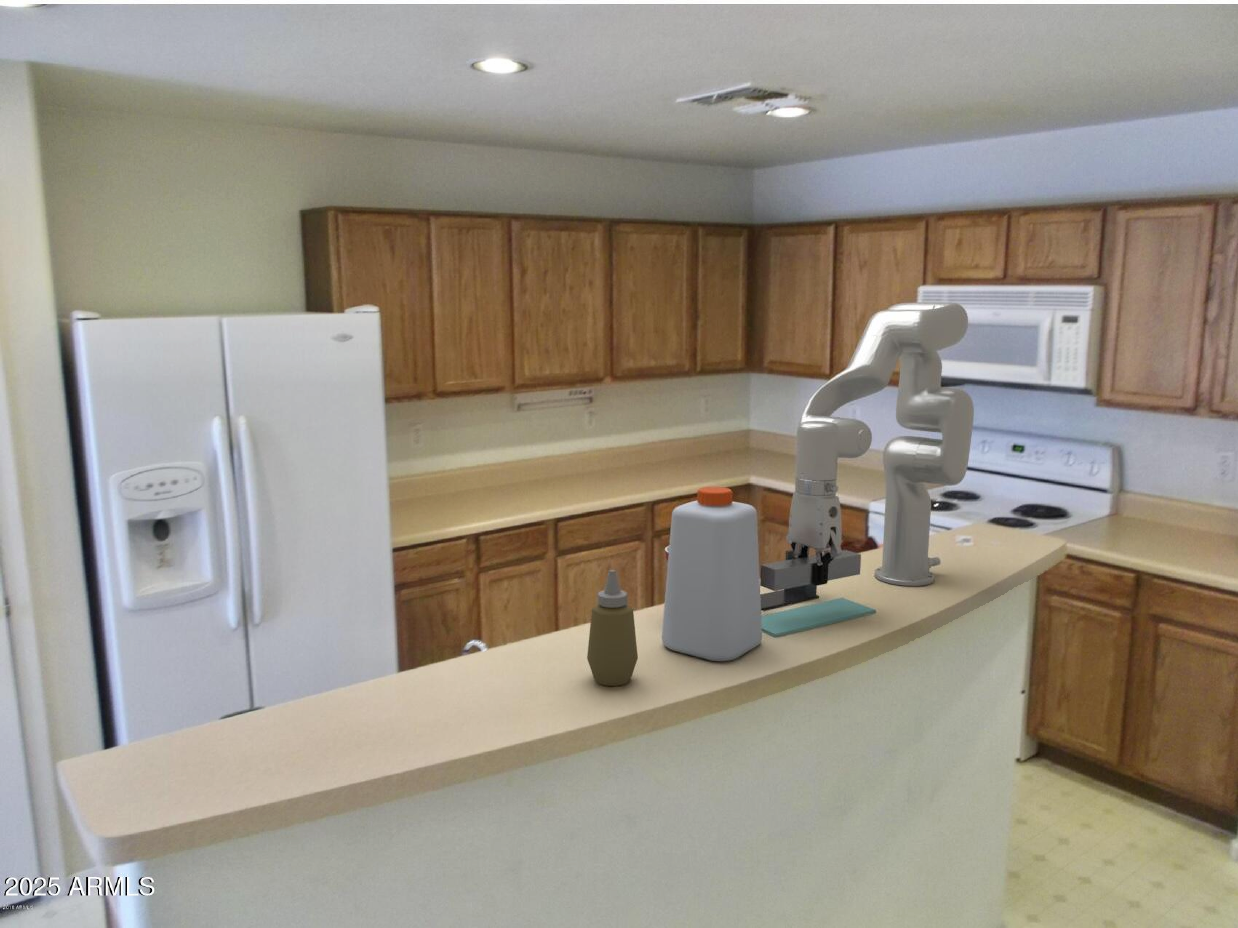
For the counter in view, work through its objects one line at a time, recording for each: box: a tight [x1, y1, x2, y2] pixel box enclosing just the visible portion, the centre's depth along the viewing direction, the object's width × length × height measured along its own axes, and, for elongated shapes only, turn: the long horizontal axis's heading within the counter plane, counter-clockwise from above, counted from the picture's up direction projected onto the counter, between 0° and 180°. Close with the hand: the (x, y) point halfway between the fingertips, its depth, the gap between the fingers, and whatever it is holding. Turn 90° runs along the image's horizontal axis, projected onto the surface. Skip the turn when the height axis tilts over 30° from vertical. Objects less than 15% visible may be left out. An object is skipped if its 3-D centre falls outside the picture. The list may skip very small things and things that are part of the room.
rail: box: [759, 549, 862, 592], centre depth 171 cm, size 22×4×4 cm, turn 122°
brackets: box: [760, 549, 820, 612], centre depth 182 cm, size 20×7×9 cm, turn 122°
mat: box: [761, 597, 877, 638], centre depth 173 cm, size 26×9×1 cm, turn 122°
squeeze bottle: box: [586, 569, 639, 687], centre depth 142 cm, size 8×8×18 cm
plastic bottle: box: [661, 486, 763, 662], centre depth 157 cm, size 15×15×28 cm
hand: (811, 580), depth 172 cm, fingers closed on rail, 4 cm apart
